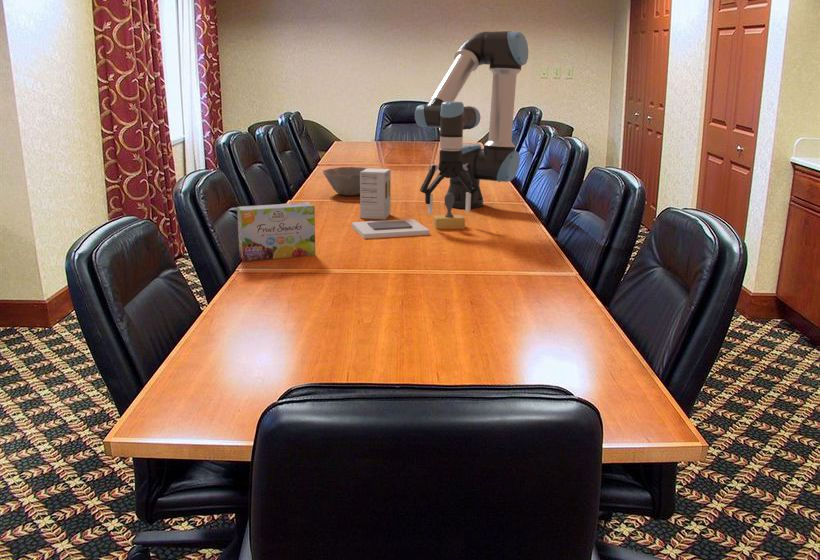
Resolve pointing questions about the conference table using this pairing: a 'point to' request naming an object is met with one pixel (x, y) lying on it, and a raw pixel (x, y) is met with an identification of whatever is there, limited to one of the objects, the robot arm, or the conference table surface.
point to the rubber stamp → (449, 216)
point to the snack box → (276, 231)
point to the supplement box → (375, 193)
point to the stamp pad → (390, 228)
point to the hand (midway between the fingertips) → (449, 212)
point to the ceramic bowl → (344, 179)
